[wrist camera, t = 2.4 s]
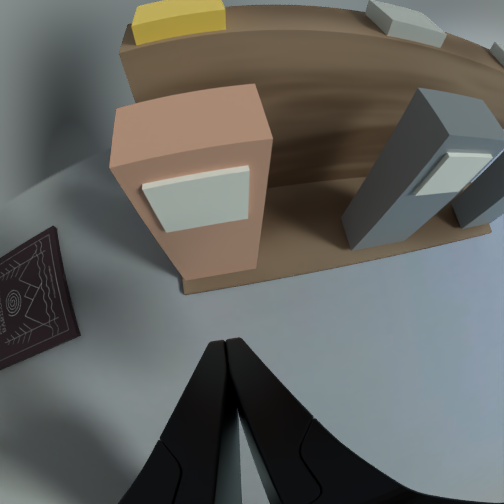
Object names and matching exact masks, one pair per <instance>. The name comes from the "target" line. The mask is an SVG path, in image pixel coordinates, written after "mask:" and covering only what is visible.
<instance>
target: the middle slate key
mask: <svg viewBox="0 0 504 504" xmlns="http://www.w3.org/2000/svg"><path fill="white" fill-rule="evenodd" d="M503 149H504V130H503V129H502V127H501V126H500V124H499V123H498V121H497V120H496V118H495V117H494V115H493V114H492V112H491V111H490V109H489V108H488V107H487V105H486V104H485V102H484V101H483V100H481V99H477V98H472V97H468V96H463V95H459V94H454V93H449V92H443V91H438V90H432V89H425V88H417V90H416V92H415V94H414V95H413V97H412V99H411V101H410V103H409V105H408V106H407V108H406V110H405V112H404V114H403V115H402V117H401V119H400V121H399V123H398V124H397V126H396V128H395V130H394V131H393V133H392V135H391V137H390V138H389V140H388V142H387V143H386V145H385V147H384V149H383V150H382V152H381V154H380V155H379V157H378V159H377V160H376V162H375V164H374V165H373V167H372V169H371V170H370V172H369V174H368V175H367V177H366V179H365V180H364V182H363V183H362V185H361V187H360V188H359V190H358V191H357V193H356V195H355V196H354V198H353V199H352V201H351V203H350V204H349V206H348V207H347V209H346V211H345V212H344V214H343V215H342V217H341V220H342V223H343V226H344V230H345V233H346V236H347V239H348V242H349V246H350V249H351V251H355V250H360V249H365V248H370V247H376V246H381V245H386V244H391V243H396V242H401V241H405V240H406V239H407V238H408V237H409V236H411V235H412V234H413V233H414V232H415V231H417V230H418V229H419V228H420V227H421V226H422V225H424V224H425V223H426V222H427V221H428V220H429V219H430V218H432V217H433V216H434V215H435V214H436V213H437V212H438V211H440V210H441V209H442V208H443V207H444V206H445V205H446V204H447V203H448V202H449V201H451V200H452V199H453V198H454V197H455V196H456V195H457V194H458V193H459V192H460V191H461V190H462V189H463V188H465V187H466V186H467V185H468V184H469V183H470V182H471V181H472V180H473V179H474V178H475V177H476V176H477V175H478V174H479V173H480V172H481V171H482V170H483V169H484V168H485V167H486V166H487V165H488V164H489V163H490V162H491V161H492V160H493V159H494V158H495V157H496V156H497V155H498V154H499V153H500V152H501V151H502V150H503Z"/></svg>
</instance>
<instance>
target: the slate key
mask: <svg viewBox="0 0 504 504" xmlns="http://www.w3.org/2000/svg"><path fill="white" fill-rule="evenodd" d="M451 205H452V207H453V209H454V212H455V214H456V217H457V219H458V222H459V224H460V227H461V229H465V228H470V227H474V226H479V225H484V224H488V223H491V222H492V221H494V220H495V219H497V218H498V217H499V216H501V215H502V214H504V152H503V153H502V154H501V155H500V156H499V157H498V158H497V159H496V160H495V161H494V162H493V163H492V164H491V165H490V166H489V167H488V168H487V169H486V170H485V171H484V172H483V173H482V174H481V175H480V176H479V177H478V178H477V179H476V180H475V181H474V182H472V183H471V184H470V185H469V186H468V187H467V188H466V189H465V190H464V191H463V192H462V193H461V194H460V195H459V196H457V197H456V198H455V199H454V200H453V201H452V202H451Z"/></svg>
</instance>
